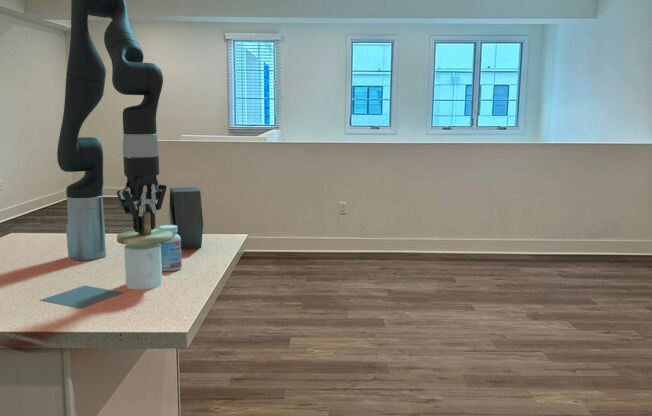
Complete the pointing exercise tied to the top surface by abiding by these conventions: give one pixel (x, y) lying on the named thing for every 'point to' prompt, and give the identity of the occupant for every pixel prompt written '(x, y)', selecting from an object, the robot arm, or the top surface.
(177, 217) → the planter
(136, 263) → the mug
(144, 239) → the lid
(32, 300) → the top surface
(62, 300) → the mat
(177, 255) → the pill bottle
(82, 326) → the top surface
